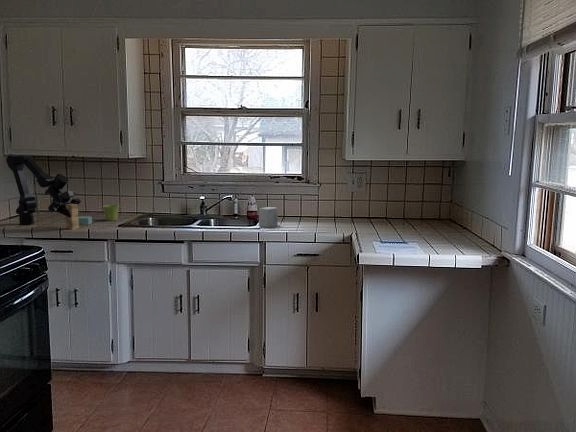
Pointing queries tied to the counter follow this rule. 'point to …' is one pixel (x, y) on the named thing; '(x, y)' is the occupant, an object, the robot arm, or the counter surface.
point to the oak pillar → (72, 216)
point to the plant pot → (111, 212)
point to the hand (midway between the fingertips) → (73, 216)
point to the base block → (85, 220)
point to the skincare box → (268, 216)
